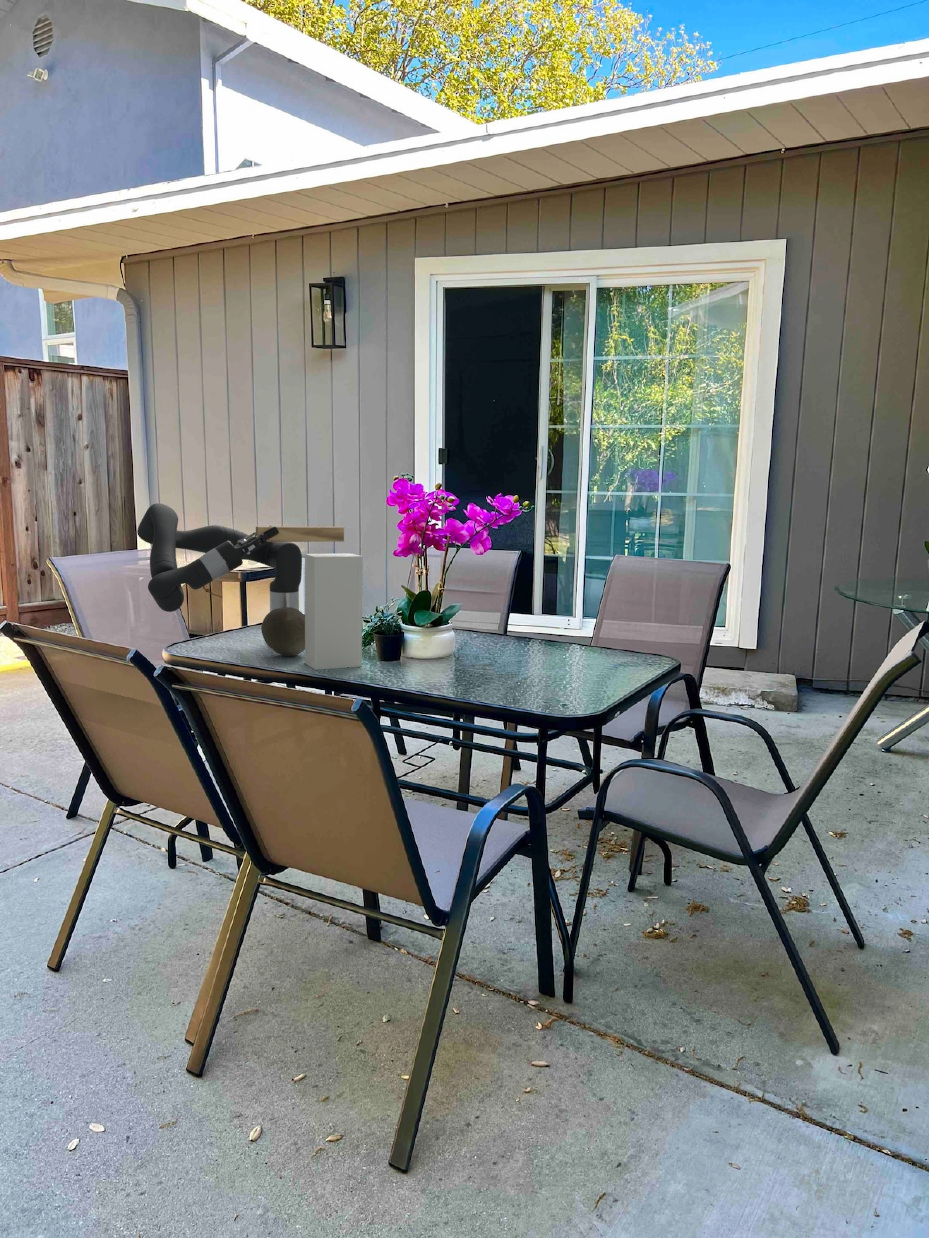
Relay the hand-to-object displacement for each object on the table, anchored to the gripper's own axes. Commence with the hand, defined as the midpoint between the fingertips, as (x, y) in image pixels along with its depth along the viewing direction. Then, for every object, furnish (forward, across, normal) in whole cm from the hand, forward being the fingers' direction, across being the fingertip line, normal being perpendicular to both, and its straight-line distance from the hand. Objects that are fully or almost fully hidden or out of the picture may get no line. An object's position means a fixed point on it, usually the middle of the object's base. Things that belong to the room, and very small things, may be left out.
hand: (275, 529), depth 242 cm
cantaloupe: (-14, -17, -38) cm, 44 cm away
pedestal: (-5, 0, -43) cm, 43 cm away
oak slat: (+5, 0, -6) cm, 8 cm away
